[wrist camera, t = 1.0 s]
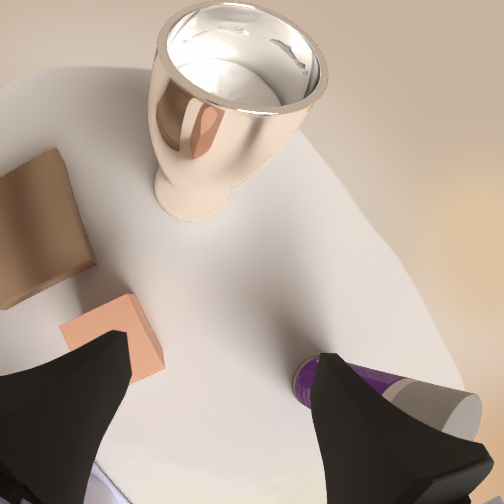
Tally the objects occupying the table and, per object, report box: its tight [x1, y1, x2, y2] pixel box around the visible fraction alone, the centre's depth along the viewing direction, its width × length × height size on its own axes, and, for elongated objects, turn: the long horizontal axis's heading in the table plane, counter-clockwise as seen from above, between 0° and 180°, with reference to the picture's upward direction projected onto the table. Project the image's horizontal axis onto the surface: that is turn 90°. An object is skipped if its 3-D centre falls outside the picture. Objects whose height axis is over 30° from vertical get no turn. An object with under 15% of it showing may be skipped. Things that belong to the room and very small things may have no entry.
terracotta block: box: [59, 294, 165, 385], centre depth 17 cm, size 4×4×6 cm
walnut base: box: [0, 148, 97, 310], centre depth 17 cm, size 9×9×3 cm
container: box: [293, 356, 482, 441], centre depth 17 cm, size 5×5×15 cm
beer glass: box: [148, 0, 328, 222], centre depth 16 cm, size 7×7×15 cm
